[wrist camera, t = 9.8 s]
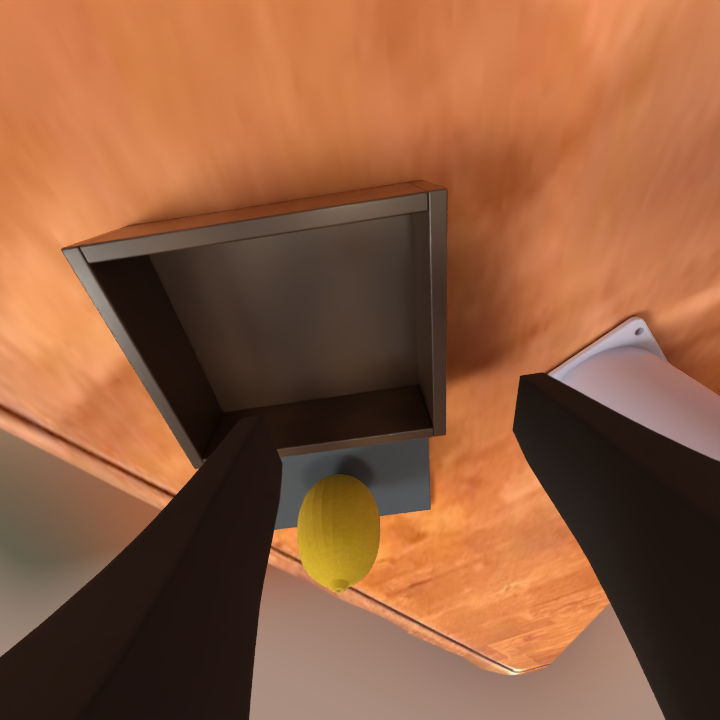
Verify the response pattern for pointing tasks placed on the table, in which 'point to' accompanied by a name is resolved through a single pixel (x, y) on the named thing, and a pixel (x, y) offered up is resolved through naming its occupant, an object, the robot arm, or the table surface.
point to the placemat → (361, 476)
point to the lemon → (338, 532)
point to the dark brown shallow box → (285, 317)
